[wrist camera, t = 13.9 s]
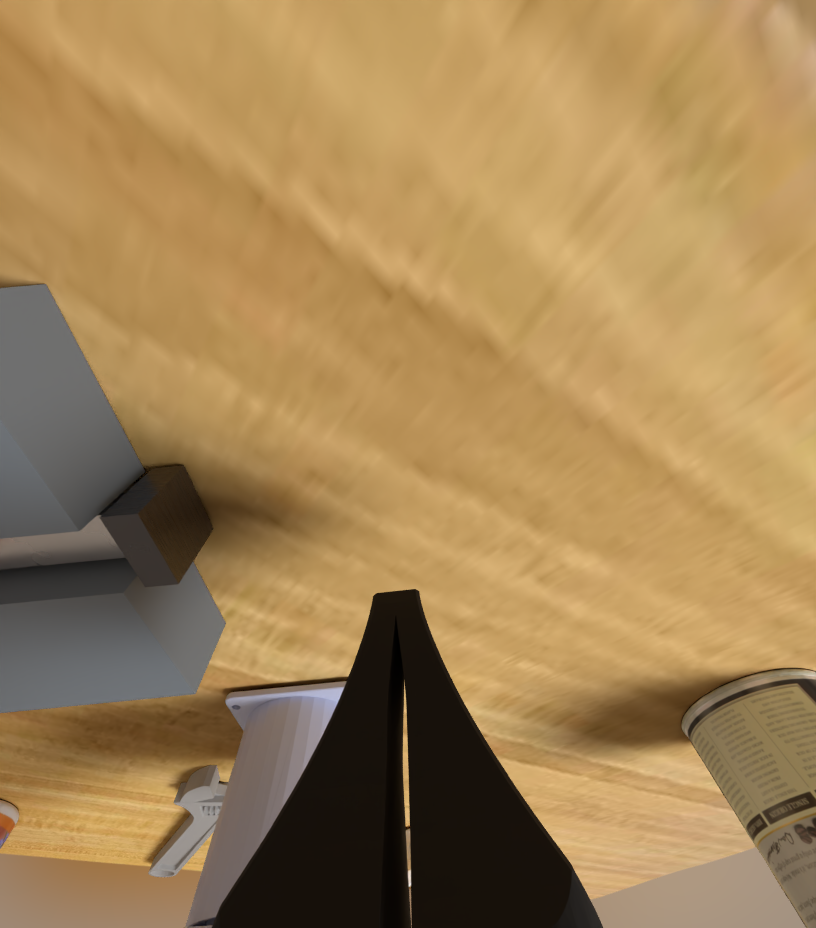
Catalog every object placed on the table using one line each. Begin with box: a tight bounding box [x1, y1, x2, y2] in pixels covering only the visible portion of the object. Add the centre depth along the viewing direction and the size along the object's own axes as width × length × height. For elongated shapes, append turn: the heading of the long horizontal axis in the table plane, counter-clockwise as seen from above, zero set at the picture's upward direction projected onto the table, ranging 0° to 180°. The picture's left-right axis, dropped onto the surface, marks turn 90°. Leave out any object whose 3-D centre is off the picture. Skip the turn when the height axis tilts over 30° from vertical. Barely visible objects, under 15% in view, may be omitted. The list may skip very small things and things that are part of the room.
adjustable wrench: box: [149, 765, 228, 877], centre depth 32 cm, size 25×6×2 cm, turn 144°
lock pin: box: [0, 465, 213, 587], centre depth 13 cm, size 3×9×3 cm, turn 94°
